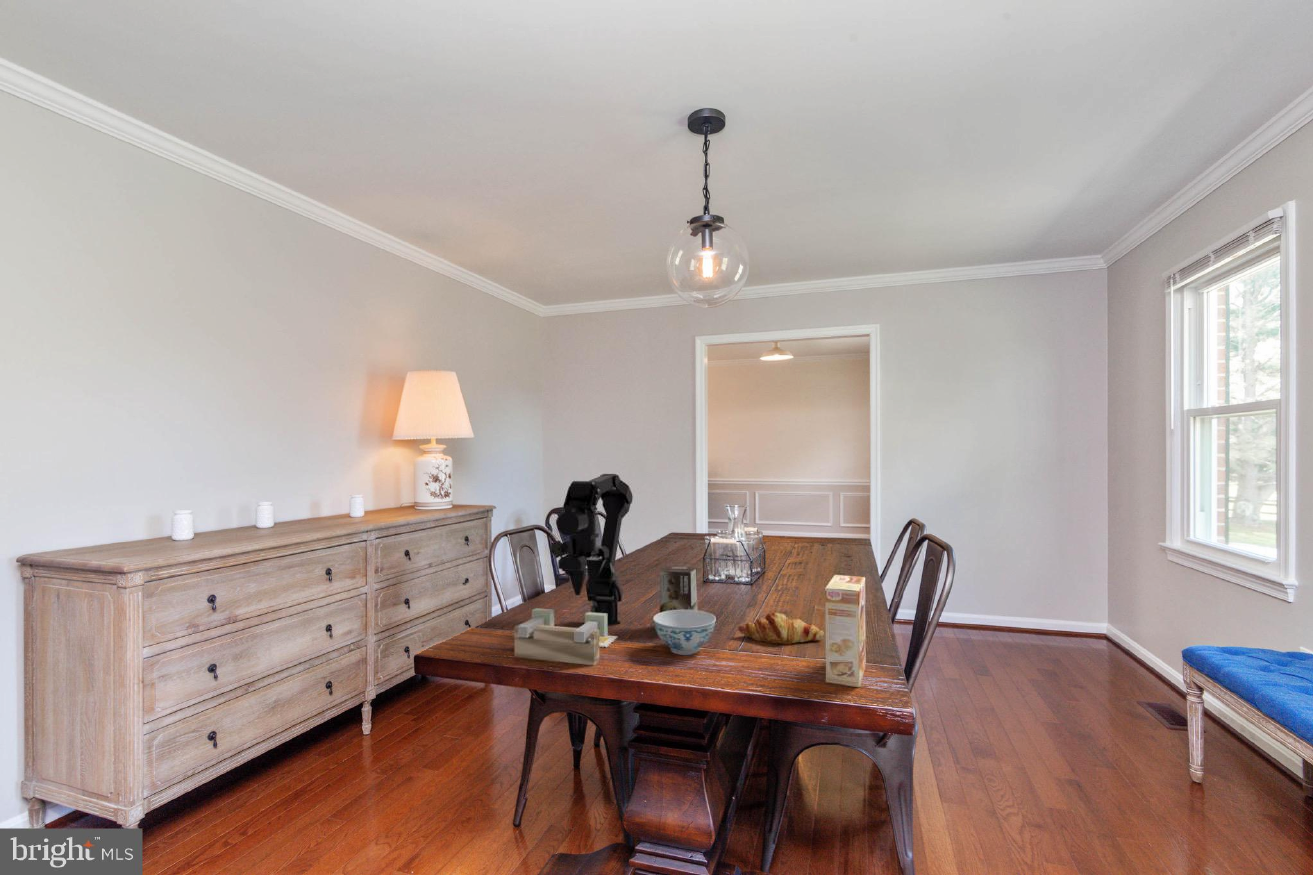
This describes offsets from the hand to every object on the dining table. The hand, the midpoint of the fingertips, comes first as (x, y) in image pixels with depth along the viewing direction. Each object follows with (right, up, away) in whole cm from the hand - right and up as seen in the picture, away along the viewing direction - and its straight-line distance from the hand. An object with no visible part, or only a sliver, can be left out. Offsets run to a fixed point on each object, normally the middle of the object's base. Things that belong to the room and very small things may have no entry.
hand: (585, 591), depth 159 cm
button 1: (-11, -8, -11) cm, 17 cm away
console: (-5, -12, -16) cm, 20 cm away
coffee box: (+24, -12, +7) cm, 28 cm away
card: (+1, -12, -2) cm, 12 cm away
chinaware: (+25, -12, -10) cm, 30 cm away
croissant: (+50, -12, -2) cm, 51 cm away
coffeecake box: (+59, -11, -26) cm, 65 cm away
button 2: (+3, -8, -15) cm, 17 cm away
